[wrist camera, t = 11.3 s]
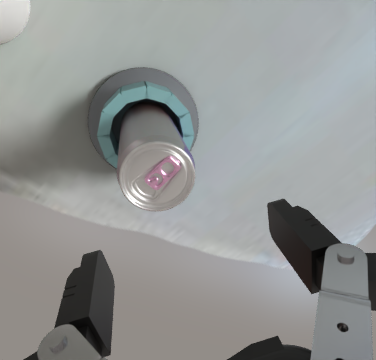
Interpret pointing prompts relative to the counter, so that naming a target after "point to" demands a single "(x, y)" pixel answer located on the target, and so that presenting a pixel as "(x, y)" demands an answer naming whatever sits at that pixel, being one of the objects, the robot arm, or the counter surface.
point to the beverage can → (153, 159)
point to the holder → (132, 94)
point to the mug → (13, 18)
